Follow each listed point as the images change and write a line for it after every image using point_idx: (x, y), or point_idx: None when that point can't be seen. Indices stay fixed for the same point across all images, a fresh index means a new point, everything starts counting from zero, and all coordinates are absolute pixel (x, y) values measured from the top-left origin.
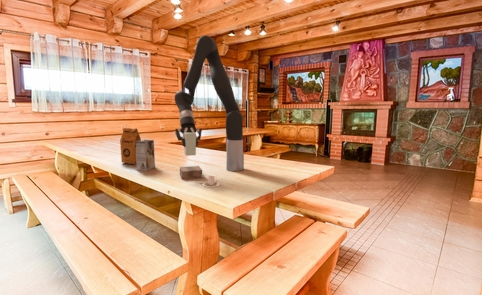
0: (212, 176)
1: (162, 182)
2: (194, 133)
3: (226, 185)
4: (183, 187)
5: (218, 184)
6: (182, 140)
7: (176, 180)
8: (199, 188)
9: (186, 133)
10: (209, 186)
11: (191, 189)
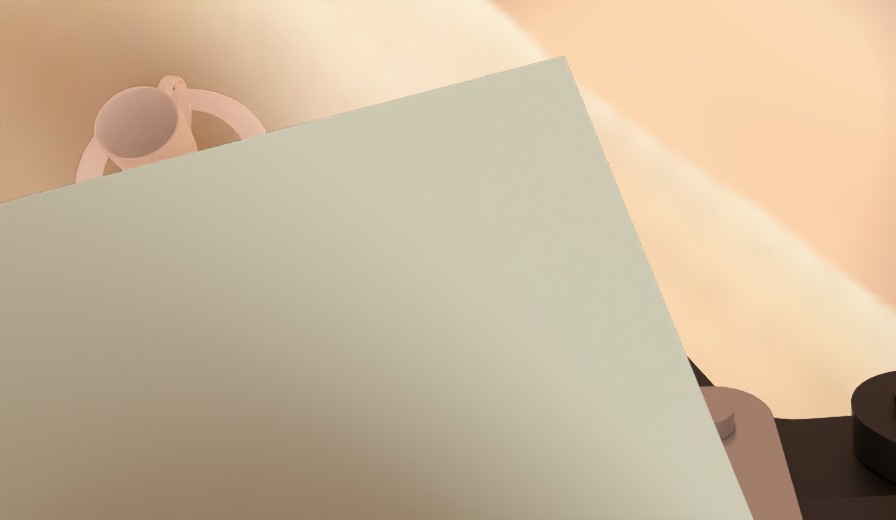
0: (118, 157)
1: (767, 246)
2: (46, 193)
3: (10, 135)
4: (470, 73)
5: (90, 160)
6: (703, 382)
7: None
8: (301, 45)
9: (511, 76)
10: (196, 93)
11: (379, 18)
